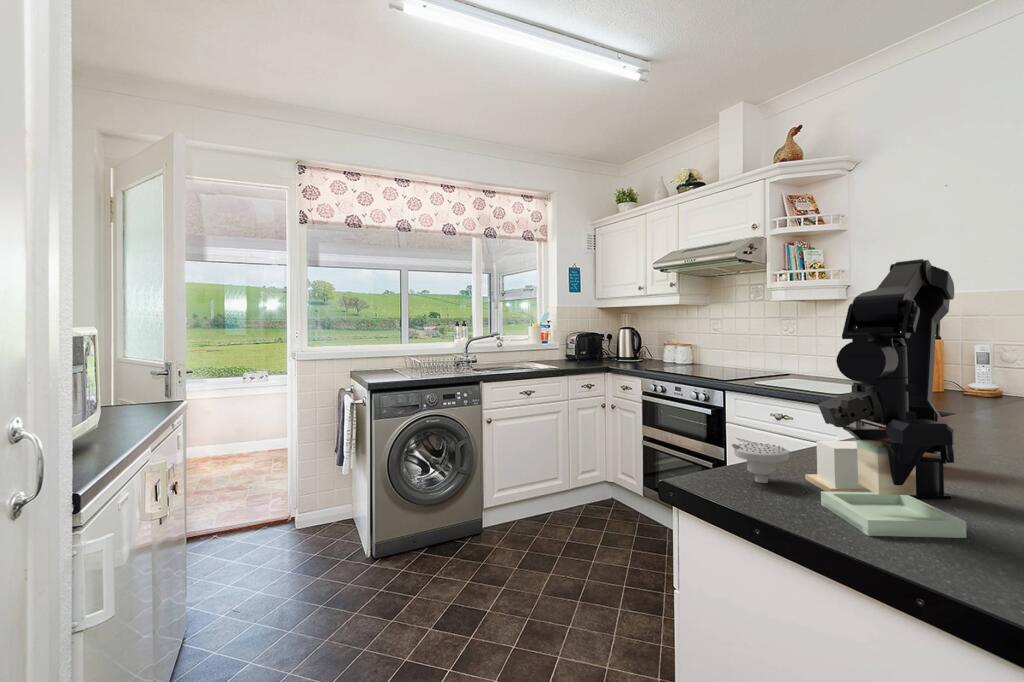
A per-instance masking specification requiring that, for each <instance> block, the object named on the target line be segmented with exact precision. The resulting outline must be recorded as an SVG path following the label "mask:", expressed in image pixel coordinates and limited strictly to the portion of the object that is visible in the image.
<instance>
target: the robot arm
mask: <svg viewBox="0 0 1024 682" xmlns="http://www.w3.org/2000/svg"><path fill="white" fill-rule="evenodd" d="M954 298H955V284H954V281H953V278H952V276H951V274H950V272H949V271H948V270H945V269H942V268H940V267H936V266H934V265H932V264H931V262H930V260H929V259H924V258H920V259H910V260H903V261H897V262H895V263H892V264H890V266H889V272H888V273H887V275H886V276H885V277H884V278H883V279H882V281H881V283H880V284H879V285H878V286H877V288H875V289H873V290H869V291H864V292H862V293H860V294H858V295H857V296H855V297H854V298H853V300H852V302H851V303H850V304H849V305H848V309H847V312H846V313H847V314H846V316H845V320H844V321H845V322H844V324H843V329H842V330H843V331H842V334H841V338H842V340H852V341H851V342H849V343H847V344H845V345H844V346H842V348H841V349H840V350H839V351H838V354H837V356H836V366H837V369H838V370H839V372H840V373H841V374H842V375H843V376H844V377H846V378H847V379H849V380H852V381H854V382H853V384H852V385H851V392H848V393H846V394H842V395H839V396H835V397H833V398H829V399H827V400H824V401H821V402H819V403H817V406H818V408H819V410H820V414H821V416H822V419H823V420H824V422H825V423H824V424H827V425H832V426H834V427H836V428H842V429H843V430H844V431H846V432H848V433H849V434H850V435H851V436H853V437H854V438H855V441H857V440H878V441H879V442H880V443H881V444H882V445H884V446H885V447H886V448H887V450H888V456H889V463H890V470H891V476H892V480H893V484H894V485H903V484H904V483H905V481H906V479H907V478H908V476H909V475H910V473H911V472H912V470H913V469H914V467H915V469H916V495H909V496H911V497H914V498H916V499H917V498H919V499H925V498H926V499H927V498H928V499H953V497H952V496H953V495H952V494H950V493H948V492H945V477H944V475H945V474H944V473H945V472H944V469H945V468H944V465H947V464H955V463H956V462H955V461H956V460H955V448H954V444H955V433H954V432H955V431H954V429H953V428H952V427H950V426H949V425H948V424H947V423H945V422H944V419H943V417H942V416H941V415H940V413H939V412H938V410H937V408H935V406H934V405H933V393H934V392H933V390H934V373H935V369H934V368H935V355H936V354H935V353H936V336H937V335H936V334H937V332H936V331H937V326H938V324H939V323H940V321H942V319H944V317H946V316H947V314H948V313H949V312H950V304H951V303H950V302H951V300H952V301H953V300H954ZM938 452H939V453H938Z"/></svg>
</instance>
